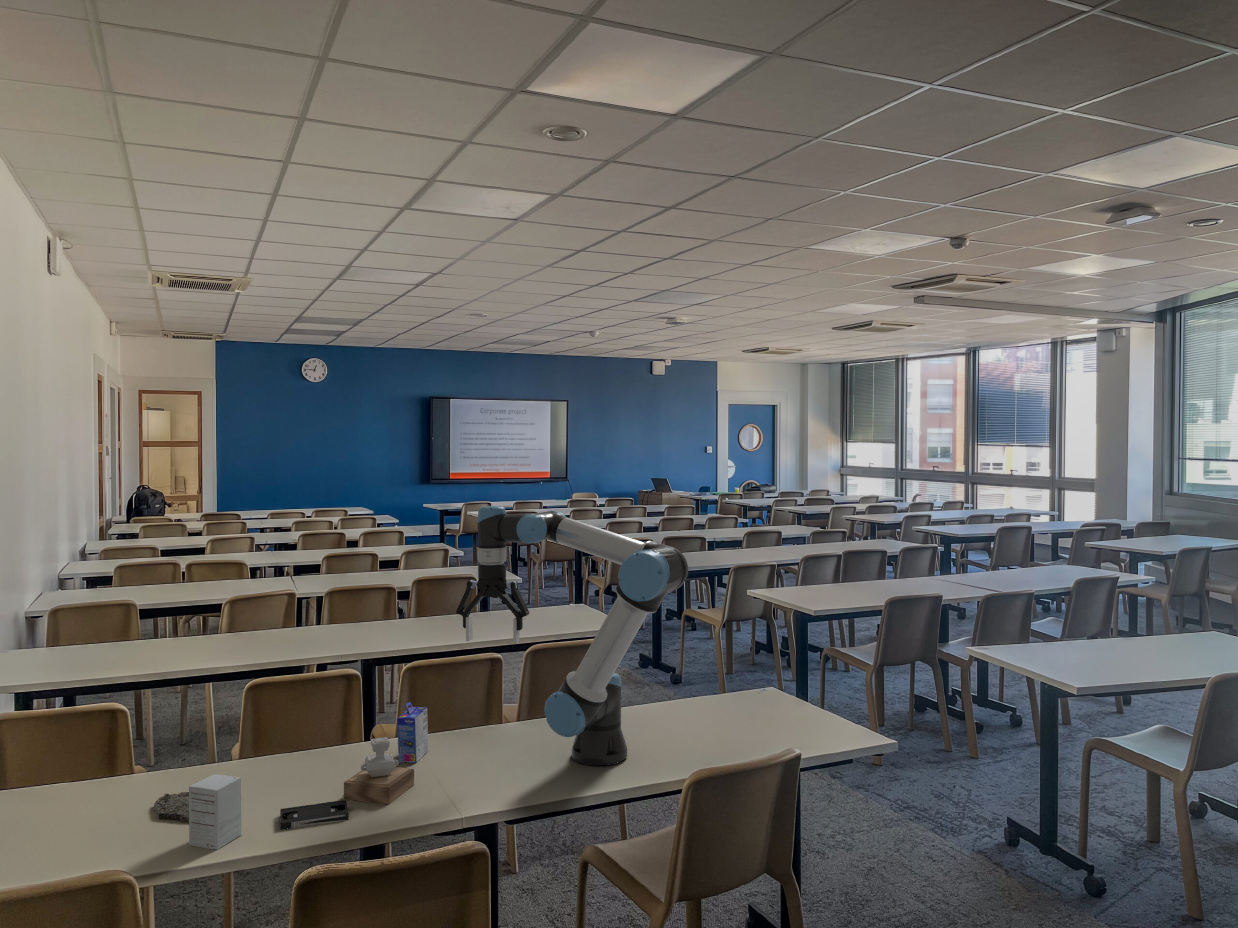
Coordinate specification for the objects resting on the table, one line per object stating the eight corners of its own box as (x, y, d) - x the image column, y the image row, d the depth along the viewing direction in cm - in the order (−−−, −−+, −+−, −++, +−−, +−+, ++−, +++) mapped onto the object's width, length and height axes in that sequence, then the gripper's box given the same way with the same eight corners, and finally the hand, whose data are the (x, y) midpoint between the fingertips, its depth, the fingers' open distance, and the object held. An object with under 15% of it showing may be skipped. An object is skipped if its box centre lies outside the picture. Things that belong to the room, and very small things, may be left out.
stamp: (397, 767, 208) (397, 733, 208) (400, 776, 202) (400, 741, 202) (359, 771, 205) (359, 737, 205) (361, 781, 199) (361, 746, 199)
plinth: (414, 784, 208) (414, 767, 208) (389, 804, 196) (389, 786, 196) (370, 780, 211) (370, 763, 211) (343, 798, 199) (343, 781, 199)
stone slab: (178, 796, 202) (178, 784, 202) (236, 804, 197) (236, 791, 197) (135, 818, 190) (135, 805, 190) (195, 827, 185) (195, 813, 185)
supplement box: (214, 830, 182) (214, 772, 182) (242, 835, 180) (242, 776, 180) (187, 845, 175) (187, 785, 175) (216, 850, 173) (216, 789, 173)
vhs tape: (280, 832, 183) (280, 822, 183) (280, 817, 190) (280, 808, 190) (348, 821, 188) (348, 812, 188) (346, 807, 195) (346, 799, 195)
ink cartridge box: (409, 749, 233) (409, 697, 233) (428, 750, 232) (428, 698, 232) (396, 762, 223) (396, 708, 223) (416, 763, 222) (416, 709, 222)
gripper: (443, 563, 227) (444, 642, 227) (531, 565, 222) (531, 645, 222) (455, 560, 234) (455, 636, 234) (540, 562, 229) (540, 639, 229)
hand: (492, 641), depth 228 cm, fingers open, 13 cm apart
